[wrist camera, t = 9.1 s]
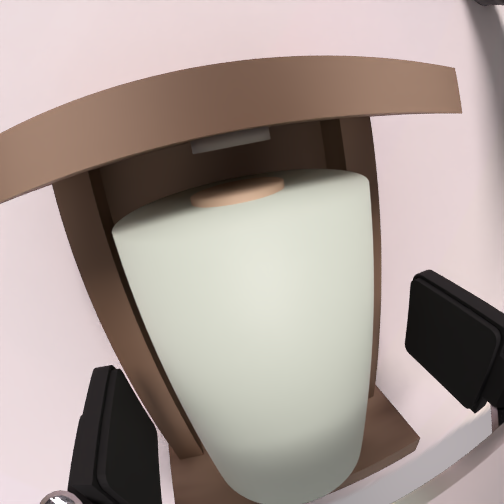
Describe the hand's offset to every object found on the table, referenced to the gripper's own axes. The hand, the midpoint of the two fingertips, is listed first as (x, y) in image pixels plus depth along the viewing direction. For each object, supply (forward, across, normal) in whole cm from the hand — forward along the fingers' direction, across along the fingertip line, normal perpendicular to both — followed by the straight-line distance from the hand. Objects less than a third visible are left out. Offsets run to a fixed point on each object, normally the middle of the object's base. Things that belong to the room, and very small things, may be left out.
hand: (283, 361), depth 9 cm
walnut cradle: (+4, 0, 0) cm, 4 cm away
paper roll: (0, 0, 0) cm, 1 cm away
